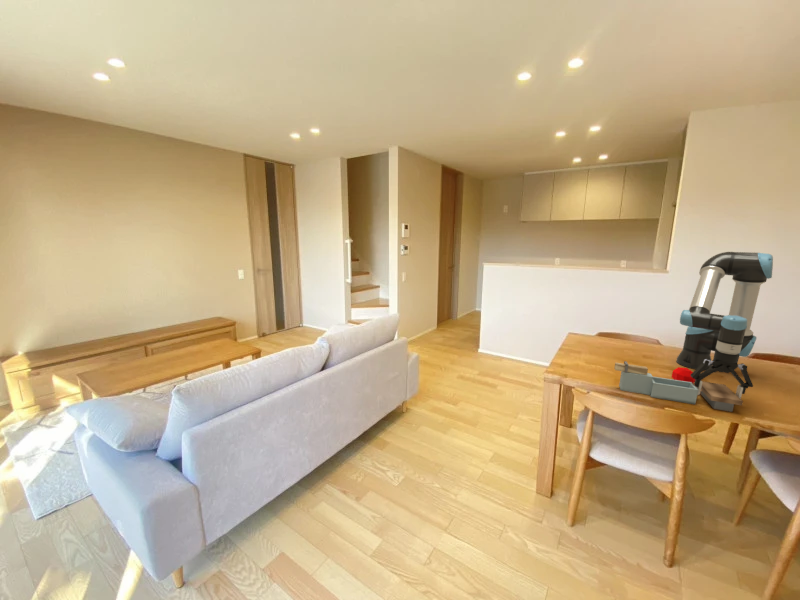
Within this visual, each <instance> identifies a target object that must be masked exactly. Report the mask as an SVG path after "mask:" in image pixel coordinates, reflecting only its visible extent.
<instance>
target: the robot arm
mask: <svg viewBox="0 0 800 600" xmlns="http://www.w3.org/2000/svg"><path fill="white" fill-rule="evenodd" d="M773 263H774V257H773V255H772V254H770V253H764V252H741V251H740V252H739V251H724V252H720V253H717V254H715V255H713V256H711V257H710V258H709V259H706V261H705V262H704V263H703V264H702V265H701V267H700V269H699V279H698V283H697V286H696V288H695V290H694V295H693V297H692V300H691V303H690V306H689V309H683V310H682V311H681V314H680V317H679V324H680V325H682V326H686V327H687V328H686V331H685V336H684V337H685V338H684V342H683V346H682V347H683V348H682V350H681V352H680V353H679V354H678V355H677V357H676V363H677V364H678V365H680V366H683V367H684V368H688V369H692V370H693V371H692V372H693V373H692V374H691V375H690V376H691V377H692V378H693V379H695V382H694V383H693V385H694V386H695V387H696V388H697V389H698V394H697V396H700V395H701V387H702V381H703V380H704V379H705V378H708V377H709V376H710V375H712V374H714V373H716V372H719V373H726V374H730V373H731V375H732V376H733V377H734V378H735V379H736V380H737V382H738V383H739V384H737V387H736V391H735V394H736V395H737V396H738V397H739V398H740V399H741V400H742V396H743V395H745V394H746V390H747V389H748V388H753V387H754V385H753V382H752V379H751V377H750V374H749V373H748V366H747V365H746V364H744V363H740V364H739V363H738V362H739V359H740V357H743V358H746V357H748V356H749V355H750V354H751V353H752V350H753V348H754V346H755V343H756V340H757V336H755V335H754V332H753V331H752V330H751V326H752V322H753V319H754V314H755V309H756V305H757V301H758V296H759V293H760V288H761V286H762V284H765V283H766V282H767V281H768V279H772V278H773V267H774V264H773ZM725 276H732V279H731V280H732V281H734V282H735V285H734V290H733V294H732V298H731V299H732V300H731V301H730V302H731V303H730V308H729V312H728V315H722V314H715V313H711V310H712V308H713V305H714V302H715V298H716V296H717V292H718V288H719V287H720V283H721V279H724V277H725ZM712 352H714V353H713V359H712V356H711V353H712ZM738 368H739V370H740V372H741V374H742V377H743V379H744V380H743V379H742V378H741V377H740V375H739V373H738V372H736V371H735V370H736V369H738Z"/></svg>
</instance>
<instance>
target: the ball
mask: <svg viewBox="0 0 800 600" xmlns="http://www.w3.org/2000/svg"><path fill="white" fill-rule="evenodd" d="M693 372H694V371H692V370H691V369H690V368H688V367H679V366H678V367H676V368H675V369H673V370H672V373H671V378H672V379H673V380H679V381H686V382H692V384H693V385H694V383H695V379H693V378H692V377H691V376H690V375H691V374H692V373H693Z"/></svg>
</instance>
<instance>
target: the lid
mask: <svg viewBox="0 0 800 600" xmlns="http://www.w3.org/2000/svg"><path fill="white" fill-rule="evenodd" d="M701 381H702V387H701V390H702V391H703V392H704V394H705V395H706V396H707V397H708V398H709V399H710V400H712V401H718V402H724V403H730V404H734V405H737V406H743V403H744V401H743V400H742V398H741V399H740V398H739V397H738V396H737V395H736V392H735V393H734V391H733V390H731V389H730V388H729V387H728V386H727V385H726V384H722V383H717V382H710V381H703V380H701Z"/></svg>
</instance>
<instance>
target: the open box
mask: <svg viewBox="0 0 800 600" xmlns="http://www.w3.org/2000/svg"><path fill="white" fill-rule="evenodd" d="M697 394H698V389H697V388H696V386H695V385H694V383H693V384H692V382H686V381H679V380H674V379H673V378H672V379H671V378H665V377H660V376H659V377H658V376H653V380H652V386H651V391H650V395H649V396H650V398H654V399H661V400H668V401H673V402H679V403H685V404H689V405H696V402H697V398H698V395H697Z"/></svg>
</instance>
